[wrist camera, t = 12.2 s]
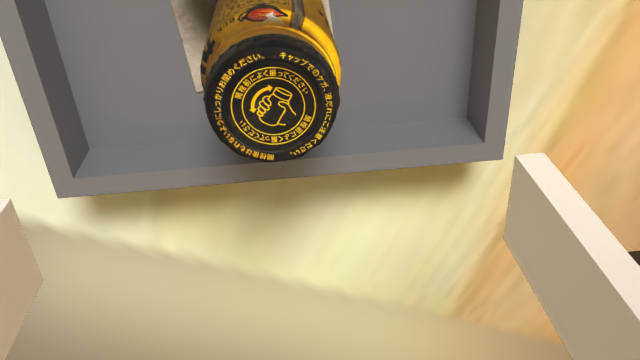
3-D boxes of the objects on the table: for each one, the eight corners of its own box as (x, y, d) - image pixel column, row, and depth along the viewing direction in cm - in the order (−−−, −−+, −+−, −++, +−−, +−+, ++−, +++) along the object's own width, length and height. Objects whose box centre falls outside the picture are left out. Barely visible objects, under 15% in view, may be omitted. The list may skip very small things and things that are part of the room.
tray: (509, -178, 29) (547, -179, 25) (478, 125, 38) (502, 159, 34) (-17, -144, 28) (-63, -140, 24) (79, 159, 37) (58, 198, 33)
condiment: (337, 66, 34) (368, 169, 24) (196, 90, 34) (166, 203, 24) (319, -65, 30) (346, -10, 20) (160, -38, 30) (105, 32, 20)
